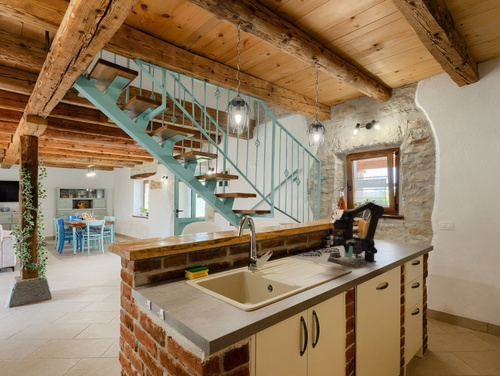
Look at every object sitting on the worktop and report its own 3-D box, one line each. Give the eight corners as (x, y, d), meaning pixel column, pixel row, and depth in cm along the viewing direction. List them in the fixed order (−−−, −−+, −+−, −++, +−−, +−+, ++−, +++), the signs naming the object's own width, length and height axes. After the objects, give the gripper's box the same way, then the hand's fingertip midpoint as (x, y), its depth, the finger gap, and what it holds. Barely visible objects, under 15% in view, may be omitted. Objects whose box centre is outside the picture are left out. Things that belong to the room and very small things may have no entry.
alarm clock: (362, 255, 212) (363, 233, 212) (365, 257, 207) (365, 234, 207) (347, 254, 213) (348, 233, 213) (349, 256, 208) (349, 234, 208)
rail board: (340, 258, 200) (340, 251, 200) (366, 265, 181) (366, 257, 181) (327, 260, 194) (327, 252, 194) (353, 267, 175) (353, 259, 175)
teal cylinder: (348, 259, 191) (348, 244, 191) (355, 261, 185) (355, 246, 186) (341, 260, 187) (341, 245, 187) (348, 262, 182) (348, 246, 182)
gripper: (348, 227, 198) (348, 249, 198) (329, 228, 189) (329, 251, 189) (361, 229, 189) (361, 252, 188) (342, 230, 179) (342, 255, 179)
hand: (348, 252), depth 186 cm, fingers closed on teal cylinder, 3 cm apart
